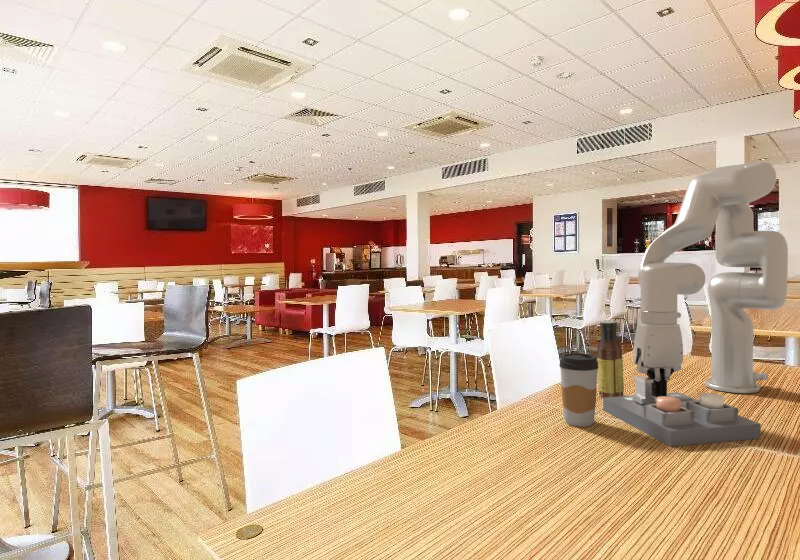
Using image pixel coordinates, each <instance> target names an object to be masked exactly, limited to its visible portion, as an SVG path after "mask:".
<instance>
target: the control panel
mask: <svg viewBox="0 0 800 560" xmlns="http://www.w3.org/2000/svg"><path fill="white" fill-rule="evenodd" d="M667 396H668V397H675V398H678V399H680V400H681V412H669V413H665V412H663V411H661V410H658V409H657V397H655V396H652V397H653V398H655V403H653V404H640V403H638V402H636V401H634V400H632V395H623V396H619V397H605V398H604V397H602V400H603V401H602V410H603V411H605V412H606V413H608V414H610V415H612V416H614V417H616V418H617V419H620V420H621V421H623V422H625V423H626V424H628V425H630V426H632V427H634V428H635V429H637V430H639V431H641V432H643V433H645V434H646V435H648V436H651V437H652V438H654V439H655V440H657V441H659V442H661V443H663V444H665V445H667V446H669V447H680V446H681V447H682V446H691V445H702V444H713V443H723V442H735V441H744V440H746V441H747V440H758V439H761V432H762V431H761V426H762V424H761V423H760V422H757V421H754V420H751V419H749V418H746V417H744V416H741V415H739V408H738V407H735V406H733V405H730V404H727V403H724V408H720V409H708V408H705V407H703V406H700V405H699V399H697V398H694V397H691V396H689V395H686V394H683V393H681V392H678V391H677V392H667Z"/></svg>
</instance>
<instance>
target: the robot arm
mask: <svg viewBox="0 0 800 560" xmlns="http://www.w3.org/2000/svg"><path fill="white" fill-rule="evenodd" d="M776 183H777V172H776V169H775V168H774V166H773V165H772V164H771V163H769V162H767V161H756V162H747V163H741V164H734V165H733V164H732V165H726V166H720V167H714V168H710V169H707V170H705V171H704V172H701V174H698V175H696V176H695V177H693V178H692V179H691V180H690V182H689V183H688V185H687V188H686V191H685V193H684V196H683V198H682V201H681V204H680V207H679V210H678V213H677V216H676V219H675V222H674V223H673V224H672V225H671V226H670V227H668V228H667V229H665V231H663V232H662V233H661V234H660V235H658V236H657V237H656V238H655V239H654V240H653V241H652V242H651V243H650V244H649V246H648V247H647V248H646V250H645V252H644V253H643V254H644V255H643V257H642V260H641V263H640V266H639V270H638V274H637V281H638V286H639V288H640V323H637V326H636V329H635V333H634V339H633V348H632V349H633V352H632V361H633V364H634V365H636V369H635V370H636V372H638V374H639V373H640V374H644V375H645V376H646V377H648V378H651V379H653V383H652V396H655V397H660V396H667V393H668V381H670V379H671V376H672V375H673V373H676V372H679V371H681V370H682V364H683V362H684V361H683V360H684V343H683V335H682V330H681V325H680V324H679V323H678V319H681V317H682V314H681V312H678V295H680V296H681V295H684V296H688V295H695V294H697V293H699V292H700V291H701V290H702V289H703V288H704V285H705V284H706V273H705V272H704V270H703V268H702V267H700V266H699V265H697V264H695V263H691V262H666V260H667V259H668V258H669V257H670V256H671V255H673V254H674V253H676V252H678V251H680V250H682V249H685V248H686V247H689V246H692V245H695V244H697V243H700V242H701V241H704V240H706V239H708V238H709V237H710V236H712V233H713V232H714V229H715V258H716V261H717V263H718V264H719V265H721V266H722V267H728V268H729V267H730V268H760V269H761V271H762V272H746V271H745V272H744V271H743V272H739V271H738V272H736V271H732V272H731V271H730V272H727V271H726V272H721V273H717V274H715V275H713V276H712V277H711V278H710V279H709V282H708V284H707V293H708V298H709V303H710V309H711V378H707V379H705V380H704V385H705V387H707V388H710V389H713V390H715V391H720V392H726V393H734V394H755V393H758V392H760V391H761V389H760V387H761V386H760V385H759V384H758V383H757V382H758V381H767V380H768V379H769V375H768V373H767V372H758V373H757V371H754V330H755V329H754V323H753V320H752V319H751V317H750V315H749V314H748V313H747V312H746V310H745V309H751V310H752V309H753V310H763V311H765V310H767V311H770V310H771V311H773V310H778V309H780V308H782V307H783V306H784V305H785V302H786V300H787V297H788V296H787V294H788V268H789V267H788V265H789V252H788V251H789V247H788V242H787V240H786V237H785V236H784V235H783V234H782V233H781V232H779V231H775V230H754V229H755V228H754V212H753V209H752V208H751V206H750V205H749V203H752V202H755V201H758V200H759V199H761V198H763V197H765V196H767V195H769V194H770V193H771V192H772V191H773V189H774V187H775V186H776Z"/></svg>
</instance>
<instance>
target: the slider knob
mask: <svg viewBox="0 0 800 560" xmlns="http://www.w3.org/2000/svg"><path fill="white" fill-rule="evenodd" d="M633 380H634V381H635V394H632V395H631V396H632V400H634V401H636V402H638V403H640V404H653V403H655V398H653V397H652V383H653V379H651V378H648V376H646V375H642V374H641V375H633Z"/></svg>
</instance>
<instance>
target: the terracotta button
mask: <svg viewBox="0 0 800 560" xmlns="http://www.w3.org/2000/svg"><path fill="white" fill-rule="evenodd" d="M657 409H658V410H661V411H663V412H665V413H669V412H681V400H680V399H678V398H675V397H668V396H660V397H657Z"/></svg>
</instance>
